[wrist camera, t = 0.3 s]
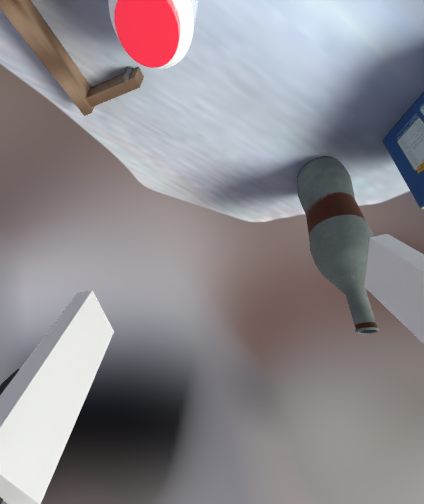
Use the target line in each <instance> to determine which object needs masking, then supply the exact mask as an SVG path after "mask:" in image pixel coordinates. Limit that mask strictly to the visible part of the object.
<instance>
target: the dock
mask: <svg viewBox="0 0 424 504" xmlns="http://www.w3.org/2000/svg"><path fill="white" fill-rule="evenodd" d="M0 9H1V10H2V12H3V13H4V14H5V15H6V17H7V18H8V19H9V21H10V22H11V23H12V24H13V26H14V27H15V28H16V29H17V31H18V32H19V33H20V34H21V36H22V37H23V38H24V40H25V41H26V42H27V43H28V45H29V46H30V47H31V48H32V50H33V51H34V52H35V54H36V55H37V56H38V57H39V59H40V60H41V61H42V62H43V64H44V65H45V66H46V68H47V69H48V70H49V71H50V73H51V74H52V75H53V76H54V78H55V79H56V80H57V81H58V83H59V84H60V85H61V87H62V88H63V89H64V90H65V92H66V93H67V94H68V95H69V97H70V98H71V99H72V101H73V102H74V103H75V104H76V106H77V107H78V108H79V109H80V111H81V112H82V113H83V115H84V116H85V115H88V114H90V113H91V112H92V111H93V109H94V107H95V106H96V105H98V104H101V103H103V102H105V101H108V100H110V99H113V98H115V97H117V96H120V95H122V94H125V93H127V92H130V91H132V90H134V89H137V88H139V87H140V85H141V83H142V80H143V77H144V76H143V74H142V72H141V70H140V68H139V67H138V68H136V69H132V68H131V67H127V68H126V70H125V73H124V74H122V75H120V76H118V77H115V78H113V79H111V80H108V81H106V82H104V83H102V84H99V85H97V86H95V87H93V88H91V86H90V85H89V83H88V82H87V81H86V79H85V78H84V76H83V75H82V73H81V72H80V71H79V69H78V68H77V66H76V65H75V63H74V62H73V60H72V59H71V58H70V56H69V55H68V53H67V52H66V50H65V49H64V48H63V46H62V45H61V43H60V42H59V40H58V39H57V37H56V36H55V35H54V33H53V32H52V30H51V29H50V27H49V26H48V25H47V23H46V22H45V20H44V19H43V17H42V16H41V14H40V13H39V12H38V10H37V9H36V7H35V6H34V4H33V3H32V2H31V0H0Z"/></svg>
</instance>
